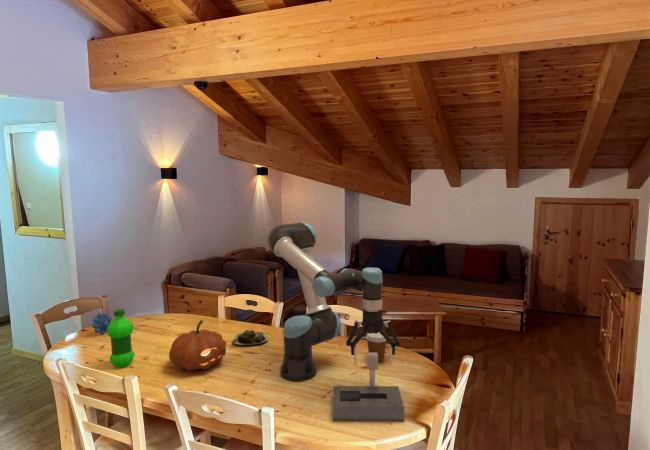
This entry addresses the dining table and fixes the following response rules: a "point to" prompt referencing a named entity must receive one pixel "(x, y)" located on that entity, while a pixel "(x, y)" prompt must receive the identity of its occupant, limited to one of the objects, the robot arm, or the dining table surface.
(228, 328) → the dining table surface
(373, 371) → the headed peg
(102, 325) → the grapes
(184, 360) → the pumpkin
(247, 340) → the salad plate
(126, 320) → the plastic bottle
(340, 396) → the keyhole plate
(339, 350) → the dining table surface
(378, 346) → the disposable coffee cup
